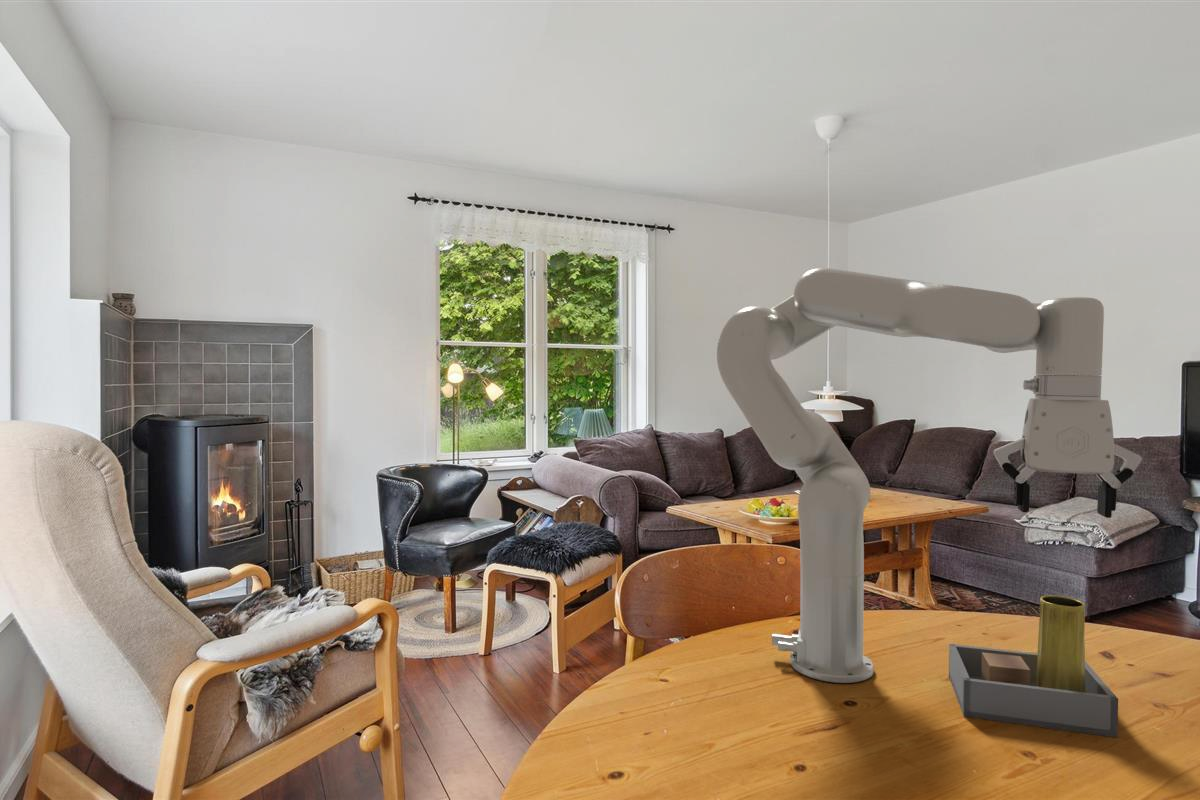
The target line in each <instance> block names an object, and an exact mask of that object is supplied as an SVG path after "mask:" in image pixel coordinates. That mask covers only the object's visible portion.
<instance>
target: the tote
mask: <svg viewBox="0 0 1200 800" xmlns="http://www.w3.org/2000/svg"><path fill="white" fill-rule="evenodd" d="M982 652H984V653H993V654H1003V655H1012V656H1021V658H1022V659H1023V660H1024V662H1025V663H1026V665H1027V666H1028V667H1029V669H1030V686H1028V685H1019V684H1011V683H1003V682H995V681H986V680H981V672H982ZM1037 657H1038V652H1027V651H1021V650H1020V651H1018V650H1010V649H1009V650H1008V649H1000V648H991V647H981V646H973V645H972V646H971V645H963V644H955V643H949V644H948V678H949V680H950V683H951V685H952V689H953V692H954V694H955V696H956V699H957V702H958V704H959V707H960V710H961V713H962V715H963V717H965V718H974V719H980V720H986V721H994V722H1002V723H1010V724H1016V725H1023V726H1030V727H1039V728H1045V729H1054V730H1059V731H1068V732H1072V733H1073V732H1075V733H1081V734H1088V735H1096V736H1103V737H1112V738H1118V735H1119V734H1118V733H1119V732H1118V731H1119V730H1118V728H1119V725H1118V724H1119V721H1118V720H1119V698H1118V697H1117V696H1116V694H1115V693H1114V692H1113V691H1112V690H1111V688H1109V686H1108V685H1107V684H1106V683H1105V681H1103V680H1102V678H1101V677H1100V676H1099V675H1098V674H1097V673H1096V671H1094V669H1093V668H1092V667H1091V666H1090V664H1089V663H1088V662H1087V661H1086V660H1085V686H1086V693H1085V692H1077V691H1069V690H1061V689H1052V688H1044V687H1036V673H1037Z"/></svg>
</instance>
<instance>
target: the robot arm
mask: <svg viewBox="0 0 1200 800" xmlns="http://www.w3.org/2000/svg"><path fill="white" fill-rule="evenodd" d="M1104 309H1105V308H1104V305H1103V303H1102V302H1101V300H1100V299H1097V298H1093V297H1085V296H1084V297H1083V296H1081V297H1080V296H1078V297H1076V296H1074V297H1060V298H1059V297H1058V298H1052V299H1048V300H1045V301H1043V302H1042V303H1041V302H1039V303H1037V302H1036V303H1034V302H1031V301H1030V300H1028V299H1027V298H1025V297H1023V296H1020V295H1018V294H1012V293H1007V292H1001V291H994V290H987V289H979V288H973V287H966V286H959V285H950V284H942V283H933V282H926V281H920V280H912V279H905V278H897V277H889V276H884V275H883V276H882V275H875V274H871V273H870V274H869V273H863V272H856V271H851V270H850V271H849V270H843V269H836V268H831V267H830V268H829V267H818V268H813V269H810V270H808V271H806V272H805V273H804V274H803V275H801V276H800V278H799V279H798V281H797V282H796V284H795V286H794V289H793V295H791V296H790V297H789V298H787V299H785V300H783V301H782V302H780V303H778V304H777V305H775V306H773V307H771V308H766V307H764V306H747V307H744V308H742V309H740V310H738V311H736V312H735V313H734V314H733V315H732V316H731V317H730V318H729V319H728V320H727V322H726V323H725V325H724V327H723V328H722V330H721V332H720V334H719V339H718V342H717V349H716V361H717V363H716V364H717V367H718V368H717V369H718V371H719V373H720V376H721V380H722V382H723V383H724V386H725V387H726V389H727V391H728V392H729V394H730V396H731V397H732V399H733V400H734V402H735V403H736V405H737V406H738V408H739V410H740V411H741V412H742V413H743V415H744V417H745V419H746V421H747V422H748V424H749V425H750V427H751V429H752V430H753V432H754V434H755V435H756V436H757V437H758V439H759V440H760V442H761V444H762V445H763V447H764V448H765V450H766V452H767V453H768V455H769V457H770V458H771V459H772V461H773V462H774V463H776V464H777V465H778V466H780V467H781V468H783V469H786V470H789V471H794V472H795V473H796V475H797V476H798V477H799V479H800V480H801V482H802V483H803V485H802V486H801V489H800V491H799V495H798V500H797V501H798V502H797V513H798V514H797V516H798V524H799V525H798V526H799V539H800V540H799V542H800V543H799V547H800V557H799V558H800V562H799V563H800V564H799V565H800V593H799V594H800V596H799V597H800V603H799V605H800V607H799V609H800V610H799V611H800V612H799V613H800V615H799V617H800V618H799V619H800V620H799V621H800V622H799V623H800V624H799V625H800V626H799V627H800V628H799V629H798V633H792V634H791V635H785V634H782V633H772V634H771V646H775V647H777V650H778V651H780V652H790V655H789V663H790V665H791V667H792V668H793V669H794V670H795V671H796V672H798V673H800V674H802V675H804V676H806V677H808V678H811V679H815V680H818V681H822V682H829V683H835V684H836V683H839V684H840V683H841V684H850V683H851V684H852V683H859V682H863V681H866V680H868V679H869V678H871V677H872V676H873V675H874V672H875V671H874V668H875V667H874V662H873V661H872V660H871V659H870V658H869V657H868V656H866V655H864V615H865V614H864V610H865V609H864V605H865V603H864V602H865V601H864V597H865V595H864V594H865V591H864V589H865V588H864V587H865V585H864V584H865V583H864V582H865V581H864V580H865V572H864V570H865V566H864V565H865V563H864V562H865V561H864V560H865V551H864V550H865V546H864V544H865V543H864V512H865V510H866V508H867V506H868V504H869V502H870V499H871V498H870V497H871V486H870V482H869V480H868V478H867V476H866V474H865V472H864V471H863V469H862V468H861V467H860V464H858V462H857V461H856V460H855V458H854V456H853V455H852V453H851V452H850V451H849V450H848V447H846V445H845V443H844V442H843V440H841V438H840V436H839V434H837V432H836V431H835V430H834V427H833V426H832V425H831V424H830V423H829V422H828V421H827V419H825V418H824V417H823V416H822V415H821V414H819V413H817V412H815V411H812V410H809V409H805V408H804V406H802V405H801V403H800V402H799V400H798V399H797V397H796V396H795V395H794V393H793V392H792V390H791V388H790V387H789V385H788V384H787V382H786V381H785V380H784V379H783V377H782V376H781V374H780V373H779V372H778V370H776V368H775V367H774V365H773V362H772V360H777V359H780V358H782V357H784V356H786V355H788V354H790V353H791V352H794V351H795V350H797V349H799V348H800V347H803V346H804V345H806V344H808V343H809V342H811V341H813V340H814V339H817V338H818V337H819V336H822V335H823V334H824V333H826V332H828V331H830V330H831V329H832V328H834V327H836V326H837V327H842V328H843V327H845V328H848V329H849V328H850V329H853V330H854V329H855V330H859V331H867V332H872V333H876V334H881V335H882V334H883V335H887V336H891V337H892V336H893V337H898V338H899V337H900V338H911V337H917V338H918V337H921V338H931V339H937V340H945V341H950V342H957V343H963V344H968V345H973V346H978V347H982V348H983V347H984V348H985V349H987V350H988V351H992V352H993V353H994V352H995V353H1001V354H1008V353H1017V352H1021V351H1022V352H1023V351H1035V350H1036V359H1035V361H1036V362H1035V375H1034V376H1033V378H1032V379H1031V378H1030V380H1029V379H1028V380H1026V379H1025V380H1023V384H1022V387H1023V390H1024V391H1025V390H1027V391H1028V390H1029V391H1031V392H1032V393H1033V395H1034V398H1029V399H1028V403H1027V406H1026V410H1025V416H1024V417H1025V418H1024V422H1023V429H1022V435H1021V437H1022V438H1020V439H1017V440H1015V441H1011V442H1008V443H1007V444H1005V445H1003V446H1000V447H996V448H995V449H993V451H992V453H993V456H994V457H995V460H996V462H997V463H998V465H999V466H1000V468H1001V470H1002V471H1004V473H1005V474H1007V475H1008V476H1009V477H1010V478H1011V479H1012V480H1013V481H1014V482H1013V504H1014V505H1015V506H1017V509H1018V510H1019V511H1020V512H1022V513H1028V512H1030V489H1031V485H1030V484H1029V483H1028V480H1029V478H1031V476H1033V475H1034V473H1036V472H1042V473H1043V472H1045V473H1063V474H1064V473H1065V474H1078V475H1079V474H1081V475H1082V474H1083V475H1084V474H1085V475H1096V477H1097V478H1098V479H1099V480H1100V481H1101V484H1099V486H1098V488H1097V505H1096V506H1097V507H1096V508H1097V509H1096V512H1097V514H1098V515H1101V516H1102V517H1104V518H1106V519H1107V518H1108V519H1110V518H1112V513H1113V512H1115V511H1116V508H1117V489H1120V488H1121V486H1122V484H1123V483H1125V482H1126V481H1128V480H1129V479H1130V478H1131V477H1132V476H1133V475H1134V472H1135V471H1136V470H1137V468H1138V467H1139V465H1140V463H1141V462H1142V460H1143V457H1142V456H1141V455H1140V454H1138V453H1135V452H1133V451H1131V450H1129V449H1127V448H1125V447H1123V446H1121V445H1118V444H1116V443H1115V438H1114V429H1113V428H1114V427H1113V420H1112V419H1113V417H1112V411H1111V407H1110V402H1109V400H1108V399H1102V397H1101V396H1102V377H1103V376H1102V375H1103V374H1102V372H1103V369H1102V368H1103V351H1104V348H1103V347H1104V345H1103V344H1104V326H1105V325H1104V324H1105V323H1104V321H1105V320H1104V318H1105V311H1104ZM1019 451H1020V460H1021V463H1022V464H1021V465H1019V466H1018V467H1017V468H1015V466H1014V465H1013V464H1011V461H1010V460H1009V456H1010V455H1012V454H1014V453H1017V452H1019ZM1115 456H1117V457H1119V458H1121V459H1122V460H1123V462H1122V465H1121V466H1120V467H1119V468H1117V470H1114V471H1113V469H1114V466H1115ZM1112 471H1113V472H1112Z"/></svg>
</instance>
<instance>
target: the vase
mask: <svg viewBox="0 0 1200 800" xmlns="http://www.w3.org/2000/svg"><path fill="white" fill-rule="evenodd" d="M1085 619H1086V604H1085V602H1083V601H1081V600H1079V599H1077V598H1073V597H1068V596H1062V595H1054V594H1053V595H1051V594H1050V595H1048V594H1045V595H1042V596H1041V597H1040V598H1039V619H1038V639H1037V653H1038V657H1037V673H1036V687H1044V688H1052V689H1061V690H1069V691H1077V692H1085V693H1086V686H1085V661H1086V660H1085V658H1086V651H1085V649H1086V648H1085V647H1086V644H1085V626H1086V625H1085V624H1086V623H1085V621H1086V620H1085Z"/></svg>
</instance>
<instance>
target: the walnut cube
mask: <svg viewBox="0 0 1200 800" xmlns="http://www.w3.org/2000/svg"><path fill="white" fill-rule="evenodd" d="M981 680H986V681H995V682H1003V683H1011V684H1019V685H1028V686H1030V669H1029V667H1028V666H1027V665H1026V663H1025V662H1024V660H1023V659H1022V658H1021V656H1012V655H1003V654H993V653H984V652H982V672H981Z"/></svg>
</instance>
